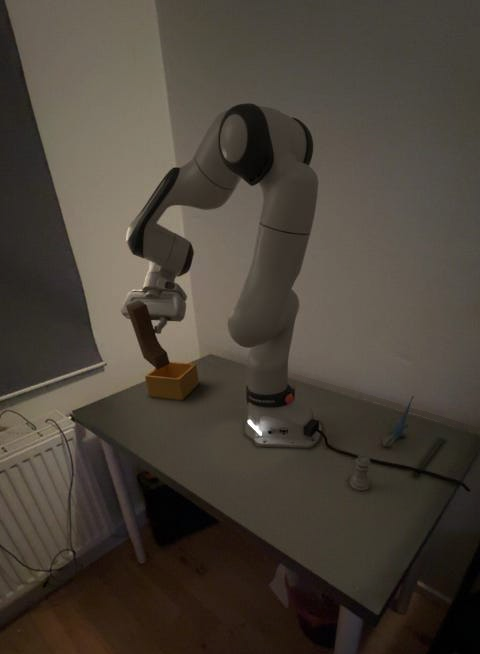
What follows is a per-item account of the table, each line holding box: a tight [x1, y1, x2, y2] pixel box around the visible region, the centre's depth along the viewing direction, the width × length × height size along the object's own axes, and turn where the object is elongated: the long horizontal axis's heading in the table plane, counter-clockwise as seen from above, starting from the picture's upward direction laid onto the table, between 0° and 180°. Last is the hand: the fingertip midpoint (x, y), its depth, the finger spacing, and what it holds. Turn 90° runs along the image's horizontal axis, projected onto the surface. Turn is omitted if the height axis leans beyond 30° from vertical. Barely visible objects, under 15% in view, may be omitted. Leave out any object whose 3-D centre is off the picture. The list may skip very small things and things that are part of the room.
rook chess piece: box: [349, 454, 372, 492], centre depth 79 cm, size 4×4×8 cm
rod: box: [413, 439, 444, 478], centre depth 88 cm, size 1×19×1 cm, turn 137°
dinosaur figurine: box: [380, 395, 414, 449], centre depth 93 cm, size 3×15×10 cm
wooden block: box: [126, 300, 171, 370], centre depth 102 cm, size 9×4×18 cm, turn 41°
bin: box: [144, 361, 200, 401], centre depth 128 cm, size 14×14×8 cm
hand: (147, 332), depth 103 cm, fingers closed on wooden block, 5 cm apart
